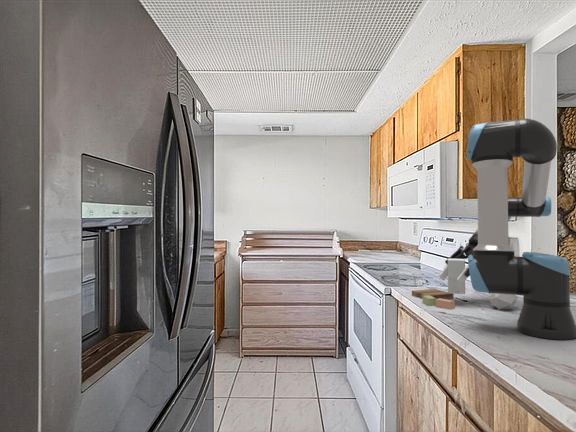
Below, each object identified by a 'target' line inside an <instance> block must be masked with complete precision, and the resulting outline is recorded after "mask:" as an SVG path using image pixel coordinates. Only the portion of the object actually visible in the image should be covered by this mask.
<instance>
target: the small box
mask: <svg viewBox="0 0 576 432" xmlns="http://www.w3.org/2000/svg"><path fill="white" fill-rule="evenodd" d="M448 258H449V257H448ZM448 258H447V259H448ZM465 268H466V259H451V258H449V259H448V276H447V292H448V293H452V294H453V295H466V280H465V281H464V283H463V284H460V283H459V281H458V280H457V278H458V277H459V276H460V274H461V273H462V272H463V271H464V269H465Z"/></svg>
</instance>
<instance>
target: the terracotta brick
mask: <svg viewBox="0 0 576 432" xmlns="http://www.w3.org/2000/svg"><path fill="white" fill-rule="evenodd" d="M455 303H456V302H455V300H452V299H441V298H439V299H436V306H435V307H436V308H441V309H447V310H454V309H455V308H456V304H455Z"/></svg>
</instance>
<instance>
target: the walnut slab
mask: <svg viewBox="0 0 576 432" xmlns="http://www.w3.org/2000/svg"><path fill="white" fill-rule="evenodd" d="M426 295H430V296H432V297H434V298H436V299H439V298H441V299H447V300H452V299H454V294H452V293H448V291H444V290H441V289H438V288H428V289H427V288H426V289H417V290H411V296H413V297H416V298H419V299H422V296H426Z"/></svg>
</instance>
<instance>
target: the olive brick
mask: <svg viewBox="0 0 576 432" xmlns="http://www.w3.org/2000/svg"><path fill="white" fill-rule="evenodd" d="M421 299H422V304H423V305H426V306H428V307H434V306H435V307H436V298H434V297H432V296H430V295H426V296H422V298H421Z"/></svg>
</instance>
